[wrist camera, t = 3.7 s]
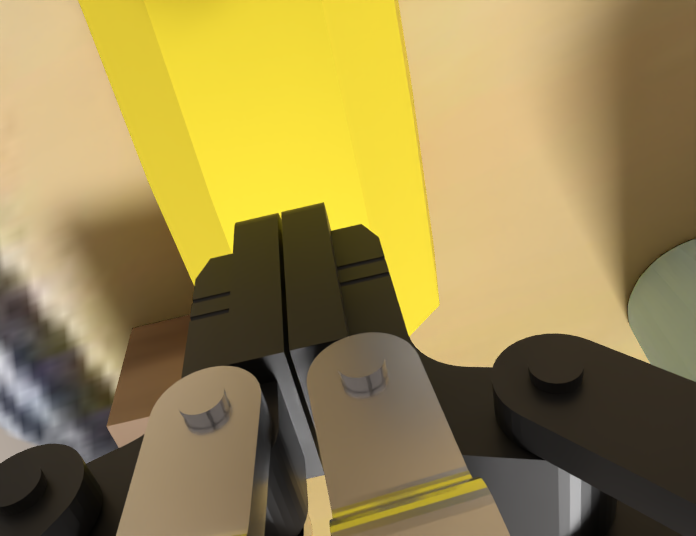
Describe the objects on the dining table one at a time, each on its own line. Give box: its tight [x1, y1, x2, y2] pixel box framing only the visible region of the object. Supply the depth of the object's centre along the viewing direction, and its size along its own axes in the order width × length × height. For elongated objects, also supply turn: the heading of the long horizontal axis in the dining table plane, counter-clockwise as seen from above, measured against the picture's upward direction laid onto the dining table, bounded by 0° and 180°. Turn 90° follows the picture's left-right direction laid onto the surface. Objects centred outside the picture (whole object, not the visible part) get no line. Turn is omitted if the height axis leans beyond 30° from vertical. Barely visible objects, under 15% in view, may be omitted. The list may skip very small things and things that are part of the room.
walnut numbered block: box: [107, 315, 191, 448], centre depth 23 cm, size 5×5×5 cm
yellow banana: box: [78, 0, 440, 336], centre depth 17 cm, size 18×7×8 cm
